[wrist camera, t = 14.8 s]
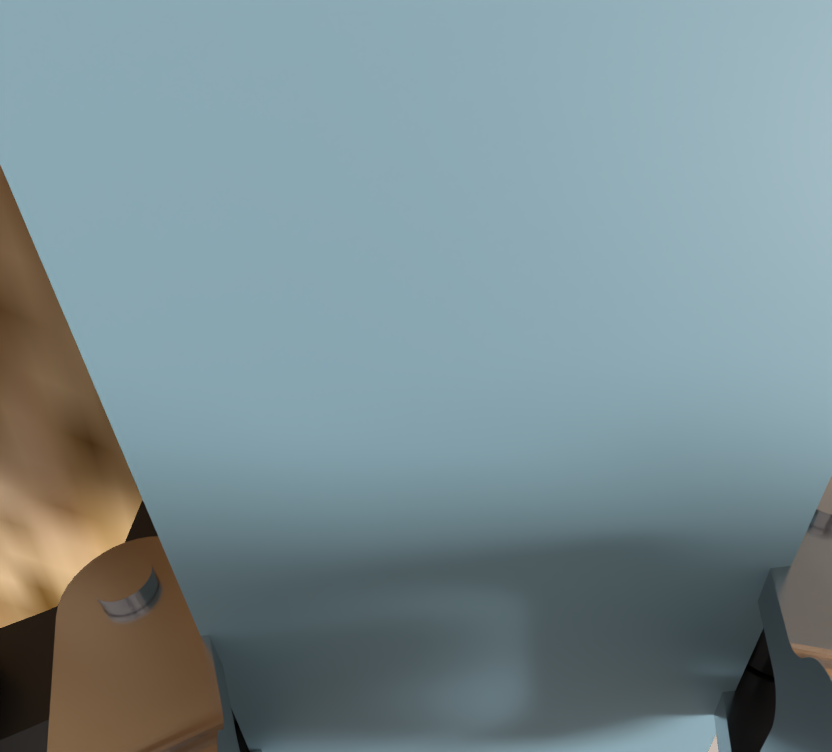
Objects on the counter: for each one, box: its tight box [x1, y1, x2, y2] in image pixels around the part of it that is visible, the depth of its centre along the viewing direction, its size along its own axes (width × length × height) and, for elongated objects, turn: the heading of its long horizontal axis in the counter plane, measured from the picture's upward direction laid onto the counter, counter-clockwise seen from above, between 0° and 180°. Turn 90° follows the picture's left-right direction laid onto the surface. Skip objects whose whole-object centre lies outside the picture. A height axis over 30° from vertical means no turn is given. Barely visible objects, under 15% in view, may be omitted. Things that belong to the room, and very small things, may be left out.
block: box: [0, 0, 832, 752], centre depth 8 cm, size 12×5×6 cm, turn 3°
